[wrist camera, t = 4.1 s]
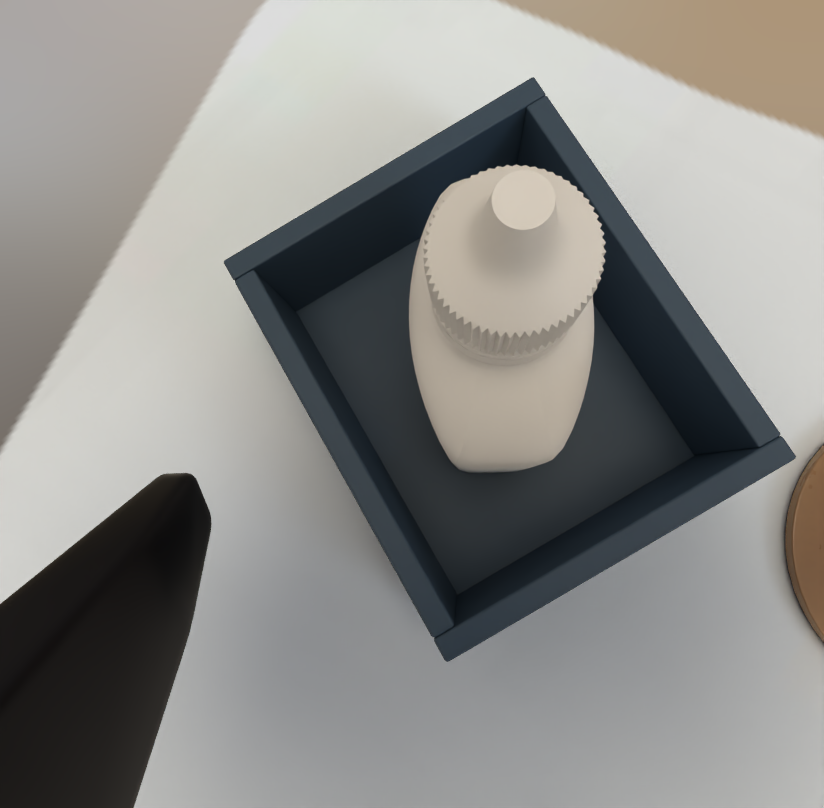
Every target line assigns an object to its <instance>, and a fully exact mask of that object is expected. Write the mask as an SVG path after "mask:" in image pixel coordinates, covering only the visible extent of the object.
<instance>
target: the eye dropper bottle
mask: <svg viewBox="0 0 824 808" xmlns="http://www.w3.org/2000/svg"><path fill="white" fill-rule="evenodd" d="M593 210H594V207H592V206H591V205H590V204H589V200H588V199H586V198H584V197H583V193H582V192H580V191H577V187H576V186H573V185H571V184H570V181H567V180H563V178H562V176H557V175H555V174H554V173H553V172H547V171H546V170H545V169H538V168H537V167H529V166H527V165H524V166H519V165H517V164H516V165H514V166H509V165H506V166H504V167H500V166H497V167H496V168H495V169H491V168H488V170H487V171H480V172H479V173H478V175H471V177H470V178H468V179H463V180H460V181H458V182H455V183H453V184H451V185H450V186H449V187H448V188H447V189H446V190H445V191H444V192H443V193H442V194H441V195H440V196H439V198H438V200H437V202H436V204H435V205H434V207H433V209H432V211H431V214H430V216H429V218H428V220H427V223H426V225H425V228H424V231H423V233H422V236H421V239H420V243H419V246H418V249H417V253H416V257H415V262H414V266H413V272H412V279H411V285H410V298H409V331H410V343H411V351H412V358H413V363H414V368H415V373H416V377H417V381H418V385H419V389H420V392H421V396H422V399H423V402H424V405H425V408H426V411H427V413H428V416H429V418H430V421H431V423H432V426H433V428H434V430H435V433H436V435H437V437H438V439H439V442H440V443H441V445H442V447H443V449H444V451H445V452H446V454H447V456H448V458H449V459H450V461H451V462H452V463H453V464H454V465H455V466H456V467H457V468H458V469H459V470H461V471H464V472H468V473H499V472H515V471H519V470H524V469H527V468H531V467H534V466H537V465H540V464H543V463H546V462H548V461H551V460H553V459H554V458H555V457H556V455H557V454H558V453H559V452H560V451H561V450H562V449H563V447H564V445H565V444H566V442H567V440H568V438H569V436H570V434H571V432H572V430H573V427H574V424H575V422H576V419H577V417H578V414H579V411H580V408H581V405H582V402H583V399H584V395H585V391H586V386H587V382H588V378H589V373H590V367H591V362H592V353H593V345H594V305H593V294H594V292H595V291H596V289H597V285H598V283H599V282H600V280H601V277H600V275H601V274H602V272H603V271H604V269H603V267H602V266H603V264H604V263H605V259H604V257H603V256H604V255H605V253H606V251H605V249H604V245H605V243H606V242H605V241H604V239H603V238H602V237H603V235H604V232H603V231H602V230H601V229H600V228H601V226H602V224H601V223H600V222H599V221H598V220H597V218H598V215H597V214H596V213H594V212H593Z"/></svg>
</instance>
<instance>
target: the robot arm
mask: <svg viewBox="0 0 824 808" xmlns="http://www.w3.org/2000/svg"><path fill="white" fill-rule="evenodd" d="M210 532H211V515H210V511H209V509H208V506H207V504H206V502H205V499H204V497H203V494H202V492H201V489H200V487H199V484H198V482H197V480H196V478H195V477H194V476H193V475H192V474H188V473H172V474H163V475H160V476H159V477H157V478H156V479H155V480H153V481H152V482H151V483H150V484H149V485H147V486H146V487H145V488H144V489H142V490H141V491H140V492H139V493H137V494H136V495H135V496H134V497H132V498H131V499H130V500H129V501H127V502H126V503H125V504H124V505H122V506H121V507H120V508H119V509H118V510H116V511H115V512H114V513H113V514H111V515H110V516H109V517H108V518H106V519H105V520H104V521H103V522H101V523H100V524H99V525H98V526H96V527H95V528H94V529H93V530H91V531H90V532H89V533H88V534H87V535H85V536H84V537H83V538H82V539H80V540H79V541H78V542H77V543H75V544H74V545H73V546H72V547H70V548H69V549H68V550H67V551H65V552H64V553H63V554H62V555H61V556H59V557H58V558H57V559H56V560H54V561H53V562H52V563H51V564H49V565H48V566H47V567H46V568H44V569H43V570H42V571H41V572H39V573H38V574H37V575H36V576H34V577H33V578H32V579H31V580H30V581H28V582H27V583H26V584H25V585H23V586H22V587H21V588H20V589H18V590H17V591H16V592H15V593H13V594H12V595H11V596H10V597H8V598H7V599H6V600H5V601H3V602H2V603H1V604H0V808H134V804H135V801H136V798H137V795H138V792H139V789H140V786H141V783H142V780H143V776H144V773H145V770H146V767H147V764H148V761H149V758H150V755H151V752H152V749H153V745H154V742H155V739H156V736H157V733H158V730H159V727H160V724H161V721H162V717H163V714H164V711H165V708H166V705H167V702H168V699H169V696H170V693H171V690H172V686H173V683H174V680H175V677H176V674H177V671H178V668H179V665H180V662H181V658H182V655H183V652H184V649H185V646H186V642H187V639H188V636H189V632H190V628H191V624H192V620H193V615H194V611H195V606H196V601H197V596H198V591H199V586H200V581H201V576H202V571H203V566H204V561H205V556H206V551H207V547H208V542H209V537H210Z"/></svg>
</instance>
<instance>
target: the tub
mask: <svg viewBox="0 0 824 808" xmlns="http://www.w3.org/2000/svg"><path fill="white" fill-rule="evenodd" d="M516 164H517V165H519V166H524V165H527V166H529V167H537V168H538V169H545V170H546V171H547V172H553V173H554V174H555V175H557V176H562V178H563V180H567V181H570V184H571V185H573V186H576V187H577V191H580V192H582V193H583V197H584V198H586V199H588V200H589V204H590V205H591V206H592V207H594V210H593V212H594V213H596V214H597V215H598V218H597V220H598V221H599V222H600V223H601V224H602V226H601V228H600V229H601V230H602V231H603V232H604V235H603V237H602V238H603V239H604V241H605V242H606V243H605V245H604V249H605V251H606V253H605V255H604V256H603V257H604V259H605V263H604V264H603V266H602V267H603V269H604V271H603V272H602V274H601V275H600V277H601V280H600V282H599V283H598V285H597V289H596V291H595V292H594V294H593V305H594V345H593V353H592V362H591V367H590V373H589V378H588V382H587V386H586V391H585V395H584V399H583V402H582V405H581V408H580V411H579V414H578V417H577V419H576V422H575V424H574V427H573V430H572V432H571V434H570V436H569V438H568V440H567V442H566V444H565V445H564V447H563V449H562V450H561V451H560V452H559V453H558V454H557V455H556V457H555V458H554V459H553V460H551V461H548V462H546V463H543V464H540V465H537V466H534V467H531V468H527V469H524V470H519V471H515V472H499V473H468V472H464V471H461V470H459V469H458V468H457V467H456V466H455V465H454V464H453V463H452V462H451V461H450V459H449V458H448V456H447V454H446V452H445V451H444V449H443V447H442V445H441V443H440V442H439V439H438V437H437V435H436V433H435V430H434V428H433V426H432V423H431V421H430V418H429V416H428V413H427V411H426V408H425V405H424V402H423V399H422V396H421V392H420V389H419V385H418V381H417V377H416V373H415V368H414V363H413V358H412V351H411V343H410V331H409V298H410V285H411V279H412V272H413V266H414V262H415V257H416V253H417V249H418V246H419V243H420V239H421V236H422V233H423V231H424V228H425V225H426V223H427V220H428V218H429V216H430V214H431V211H432V209H433V207H434V205H435V204H436V202H437V200H438V198H439V196H440V195H441V194H442V193H443V192H444V191H445V190H446V189H447V188H448V187H449V186H450V185H451V184H453V183H455V182H458V181H460V180H463V179H468V178H470V177H471V175H478V173H479V172H480V171H487V170H488V168H491V169H495V168H496V167H497V166H500V167H504V166H506V165H509V166H514V165H516ZM224 264H225V266H226V267H227V269H228V271H229V273H230V275H231V276H232V278H233V280H235V283H236V285H237V287H238V289H239V291H240V292H241V294H242V296H243V298H244V300H245V301H246V303H247V305H248V307H249V309H250V310H251V312H252V314H253V316H254V318H255V319H256V321H257V323H258V325H259V327H260V328H261V330H262V332H263V334H264V336H265V337H266V339H267V341H268V343H269V345H270V346H271V348H272V350H273V352H274V354H275V355H276V357H277V359H278V361H279V363H280V364H281V366H282V368H283V370H284V372H285V373H286V375H287V377H288V379H289V381H290V382H291V384H292V386H293V388H294V390H295V391H296V393H297V395H298V397H299V399H300V400H301V402H302V404H303V406H304V408H305V409H306V411H307V413H308V415H309V417H310V418H311V420H312V422H313V424H314V426H315V427H316V429H317V431H318V433H319V435H320V436H321V438H322V440H323V442H324V444H325V445H326V447H327V449H328V451H329V453H330V454H331V456H332V458H333V460H334V462H335V463H336V465H337V467H338V469H339V471H340V472H341V474H342V476H343V478H344V480H345V481H346V483H347V485H348V487H349V489H350V490H351V492H352V494H353V496H354V498H355V499H356V501H357V503H358V505H359V507H360V508H361V510H362V512H363V514H364V516H365V517H366V519H367V521H368V523H369V524H370V526H371V528H372V530H373V532H374V533H375V535H376V537H377V539H378V541H379V542H380V544H381V546H382V548H383V550H384V551H385V553H386V555H387V557H388V559H389V560H390V562H391V564H392V566H393V568H394V569H395V571H396V573H397V575H398V577H399V578H400V580H401V582H402V584H403V586H404V587H405V589H406V591H407V593H408V595H409V596H410V598H411V600H412V602H413V604H414V605H415V607H416V609H417V611H418V613H419V614H420V616H421V618H422V620H423V622H424V623H425V625H426V627H427V629H428V631H429V632H430V634H431V636H432V637H435V638H434V641H435V643H436V645H437V647H438V649H439V651H440V652H441V654H442V656H443V658H444V660H445V661H446V662H448V661H451V660H452V659H454V658H456V657H457V656H459V655H461V654H462V653H464V652H466V651H468V650H469V649H471V648H473V647H474V646H476V645H478V644H480V643H481V642H483V641H485V640H486V639H488V638H490V637H492V636H493V635H495V634H497V633H498V632H500V631H502V630H503V629H505V628H507V627H509V626H510V625H512V624H514V623H515V622H517V621H519V620H521V619H522V618H524V617H526V616H527V615H529V614H531V613H533V612H534V611H536V610H538V609H539V608H541V607H543V606H544V605H546V604H548V603H550V602H551V601H553V600H555V599H556V598H558V597H560V596H562V595H563V594H565V593H567V592H568V591H570V590H572V589H574V588H575V587H577V586H579V585H580V584H582V583H584V582H585V581H587V580H589V579H591V578H592V577H594V576H596V575H597V574H599V573H601V572H603V571H604V570H606V569H608V568H609V567H611V566H613V565H615V564H616V563H618V562H620V561H621V560H623V559H625V558H626V557H628V556H630V555H632V554H633V553H635V552H637V551H638V550H640V549H642V548H644V547H645V546H647V545H649V544H650V543H652V542H654V541H656V540H657V539H659V538H661V537H662V536H664V535H666V534H667V533H669V532H671V531H673V530H674V529H676V528H678V527H679V526H681V525H683V524H685V523H686V522H688V521H690V520H691V519H693V518H695V517H697V516H698V515H700V514H702V513H703V512H705V511H707V510H708V509H710V508H712V507H714V506H715V505H717V504H719V503H720V502H722V501H724V500H726V499H727V498H729V497H731V496H732V495H734V494H736V493H738V492H739V491H741V490H743V489H744V488H746V487H748V486H749V485H751V484H753V483H755V482H756V481H758V480H760V479H761V478H763V477H765V476H767V475H768V474H770V473H772V472H773V471H775V470H777V469H779V468H780V467H782V466H784V465H785V464H787V463H789V462H790V461H792V460H794V459H795V458H796V456H795V454H794V453H793V452H792V450H791V449H790V447H789V446H788V444H787V443H786V441H785V440H784V439H783V437H781V436H780V432H779V431H778V430H777V428H776V427H775V425H774V424H773V422H772V421H771V419H770V418H769V417H768V415H767V414H766V412H765V411H764V409H763V408H762V406H761V405H760V404H759V402H758V401H757V399H756V398H755V396H754V395H753V393H752V392H751V391H750V389H749V388H748V386H747V385H746V383H745V382H744V380H743V379H742V378H741V376H740V375H739V373H738V372H737V370H736V369H735V367H734V366H733V365H732V363H731V362H730V360H729V359H728V357H727V356H726V354H725V353H724V352H723V350H722V349H721V347H720V346H719V344H718V343H717V341H716V340H715V339H714V337H713V336H712V334H711V333H710V331H709V330H708V328H707V327H706V326H705V324H704V323H703V321H702V320H701V318H700V317H699V315H698V314H697V313H696V311H695V310H694V308H693V307H692V305H691V304H690V302H689V301H688V300H687V298H686V297H685V295H684V294H683V292H682V291H681V289H680V288H679V287H678V285H677V284H676V282H675V281H674V279H673V278H672V276H671V275H670V274H669V272H668V271H667V269H666V268H665V266H664V265H663V263H662V262H661V261H660V259H659V258H658V256H657V255H656V253H655V252H654V250H653V249H652V248H651V246H650V245H649V243H648V242H647V240H646V239H645V237H644V236H643V235H642V233H641V232H640V230H639V229H638V227H637V226H636V224H635V223H634V222H633V220H632V219H631V217H630V216H629V214H628V213H627V211H626V210H625V208H624V207H623V206H622V204H621V203H620V201H619V200H618V198H617V197H616V195H615V194H614V193H613V191H612V190H611V188H610V187H609V185H608V184H607V182H606V181H605V180H604V178H603V177H602V175H601V174H600V172H599V171H598V169H597V168H596V167H595V165H594V164H593V162H592V161H591V159H590V158H589V156H588V155H587V154H586V152H585V151H584V149H583V148H582V146H581V145H580V143H579V142H578V141H577V139H576V138H575V136H574V135H573V133H572V132H571V130H570V129H569V128H568V126H567V125H566V123H565V122H564V120H563V119H562V117H561V116H560V115H559V113H558V112H557V110H556V109H555V107H554V106H553V104H552V103H551V102H550V100H549V99H548V97H547V96H545V93H544V91H543V90H542V88H541V87H540V86H539V84H538V83H537V81H536V80H535V78H531V79H529V80H527V81H526V82H524V83H522V84H521V85H519V86H517V87H516V88H514V89H512V90H510V91H509V92H507V93H505V94H504V95H502V96H500V97H499V98H497V99H495V100H494V101H492V102H490V103H489V104H487V105H485V106H484V107H482V108H480V109H479V110H477V111H475V112H474V113H472V114H470V115H468V116H467V117H465V118H463V119H462V120H460V121H458V122H457V123H455V124H453V125H452V126H450V127H448V128H447V129H445V130H443V131H442V132H440V133H438V134H437V135H435V136H433V137H431V138H430V139H428V140H426V141H425V142H423V143H421V144H420V145H418V146H416V147H415V148H413V149H411V150H410V151H408V152H406V153H405V154H403V155H401V156H400V157H398V158H396V159H394V160H393V161H391V162H389V163H388V164H386V165H384V166H383V167H381V168H379V169H378V170H376V171H374V172H373V173H371V174H369V175H368V176H366V177H364V178H363V179H361V180H359V181H358V182H356V183H354V184H352V185H351V186H349V187H347V188H346V189H344V190H342V191H341V192H339V193H337V194H336V195H334V196H332V197H331V198H329V199H327V200H326V201H324V202H322V203H321V204H319V205H317V206H315V207H314V208H312V209H310V210H309V211H307V212H305V213H304V214H302V215H300V216H299V217H297V218H295V219H294V220H292V221H290V222H289V223H287V224H285V225H284V226H282V227H280V228H278V229H277V230H275V231H273V232H272V233H270V234H268V235H267V236H265V237H263V238H262V239H260V240H258V241H257V242H255V243H253V244H252V245H250V246H248V247H247V248H245V249H243V250H242V251H240V252H238V253H236V254H235V255H233V256H231V257H230V258H228V259H226V260H225V261H224Z"/></svg>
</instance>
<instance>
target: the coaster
mask: <svg viewBox="0 0 824 808" xmlns="http://www.w3.org/2000/svg"><path fill="white" fill-rule="evenodd" d="M785 539H786V557H787V564H788V570H789V574H790V578H791V581H792V585H793V588H794V591H795V594H796V596H797V598H798V601H799V603H800V605H801V608H802V610H803V612H804V614H805V615H806V617H807V619H808V620H809V622H810V624H811V626H812V627H813V629H814V630H815V632H816V633H817V634H818V636H819V637H820V638H821V640H822V641H823V642H824V445H823V446H822V447H821V448H820V449H819V451H818V452H817V453H816V454H815V455H814V457H813V458H812V459H811V460H810V462H809V463H808V465H807V467H806V468H805V470H804V471H803V473H802V475H801V476H800V478H799V481H798V483H797V485H796V488H795V490H794V492H793V495H792V499H791V502H790V506H789V510H788V515H787V523H786V531H785Z"/></svg>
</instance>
